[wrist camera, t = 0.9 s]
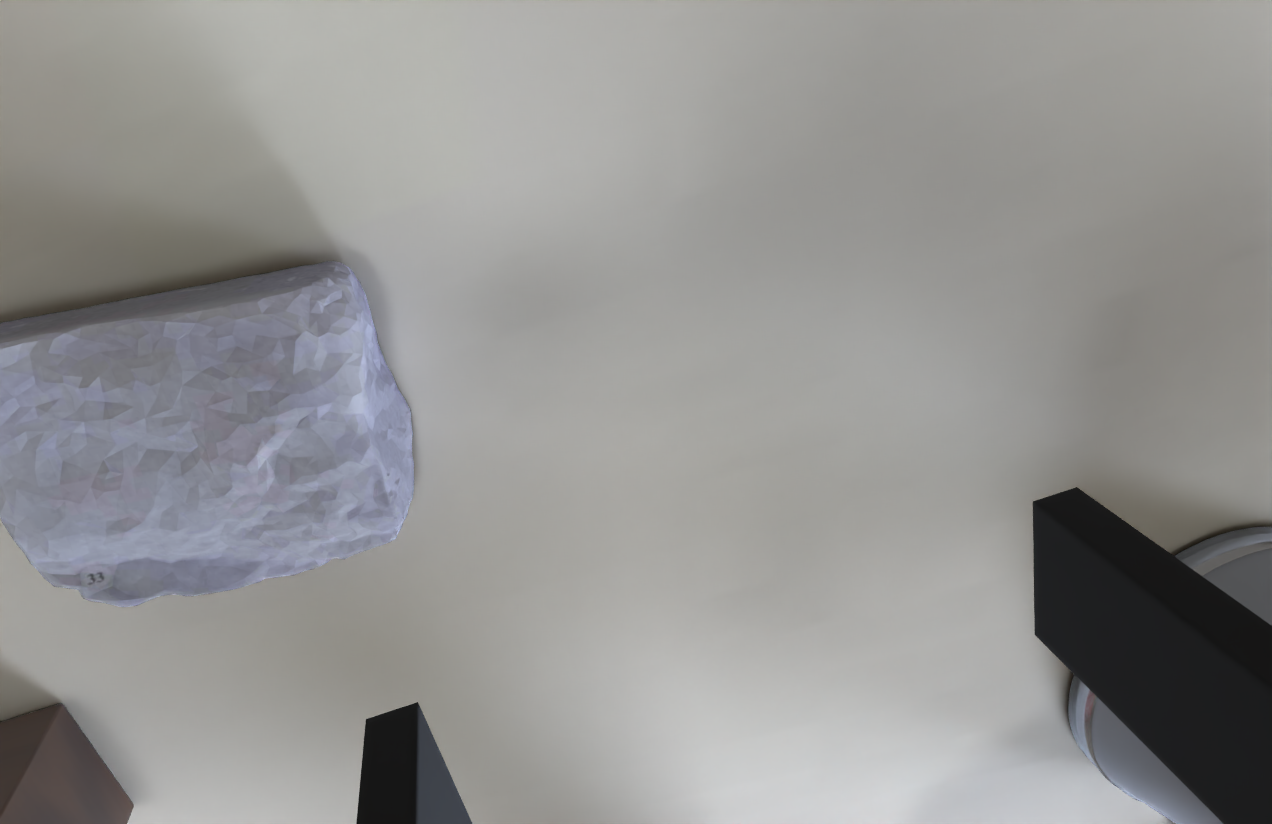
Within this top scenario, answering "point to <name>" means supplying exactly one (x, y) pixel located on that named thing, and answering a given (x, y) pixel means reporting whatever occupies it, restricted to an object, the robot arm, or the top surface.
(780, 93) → the top surface
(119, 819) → the walnut block
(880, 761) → the top surface
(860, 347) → the top surface
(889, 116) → the top surface
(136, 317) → the stone block
